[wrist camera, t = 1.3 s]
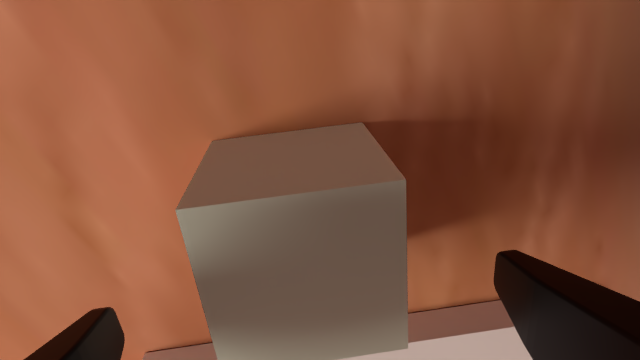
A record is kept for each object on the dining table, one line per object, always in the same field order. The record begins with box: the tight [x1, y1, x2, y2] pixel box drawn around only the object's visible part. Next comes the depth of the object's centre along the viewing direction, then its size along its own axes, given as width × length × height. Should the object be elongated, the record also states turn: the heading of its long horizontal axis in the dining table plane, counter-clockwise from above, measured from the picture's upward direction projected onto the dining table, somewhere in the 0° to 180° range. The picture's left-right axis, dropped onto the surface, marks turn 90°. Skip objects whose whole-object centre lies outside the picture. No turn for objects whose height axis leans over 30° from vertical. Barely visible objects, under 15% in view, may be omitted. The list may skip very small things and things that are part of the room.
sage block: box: [176, 122, 408, 360], centre depth 12 cm, size 5×5×5 cm
